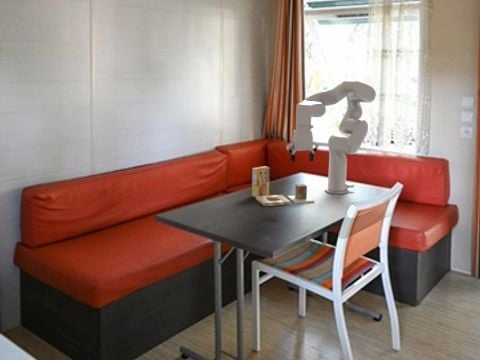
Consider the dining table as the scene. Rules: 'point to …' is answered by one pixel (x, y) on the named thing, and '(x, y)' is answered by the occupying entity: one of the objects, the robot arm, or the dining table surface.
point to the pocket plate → (279, 201)
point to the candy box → (260, 181)
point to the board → (300, 200)
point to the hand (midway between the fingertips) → (302, 161)
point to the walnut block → (301, 191)
